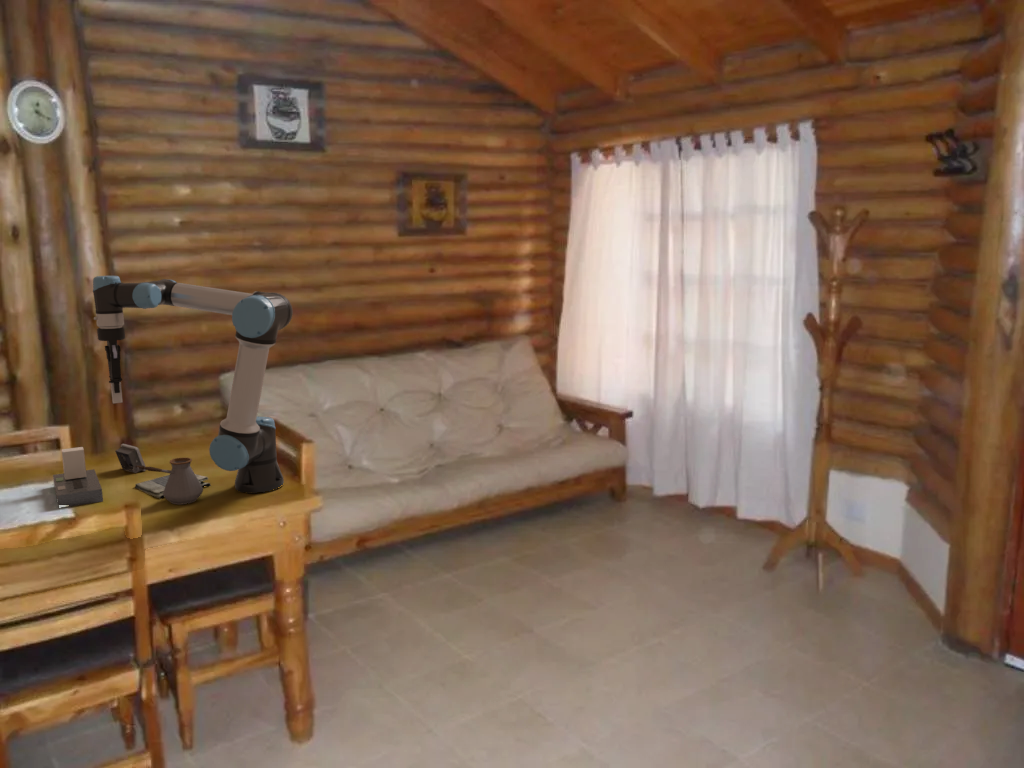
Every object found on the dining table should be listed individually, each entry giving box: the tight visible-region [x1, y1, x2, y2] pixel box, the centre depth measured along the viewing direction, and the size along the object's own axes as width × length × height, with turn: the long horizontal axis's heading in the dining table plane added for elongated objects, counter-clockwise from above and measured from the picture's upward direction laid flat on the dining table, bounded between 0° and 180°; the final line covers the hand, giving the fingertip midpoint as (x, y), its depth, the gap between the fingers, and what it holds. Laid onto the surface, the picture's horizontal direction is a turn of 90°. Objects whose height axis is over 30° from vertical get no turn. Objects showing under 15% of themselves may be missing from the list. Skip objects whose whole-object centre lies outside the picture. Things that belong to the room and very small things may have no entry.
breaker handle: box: [61, 446, 87, 480], centre depth 260 cm, size 4×6×9 cm, turn 122°
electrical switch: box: [115, 443, 147, 474], centre depth 280 cm, size 9×5×9 cm, turn 57°
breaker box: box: [52, 468, 104, 507], centre depth 257 cm, size 24×12×4 cm, turn 32°
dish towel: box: [134, 473, 212, 500], centre depth 264 cm, size 19×18×3 cm
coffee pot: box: [132, 457, 204, 505], centre depth 246 cm, size 21×12×15 cm, turn 149°
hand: (117, 402), depth 252 cm, fingers closed
